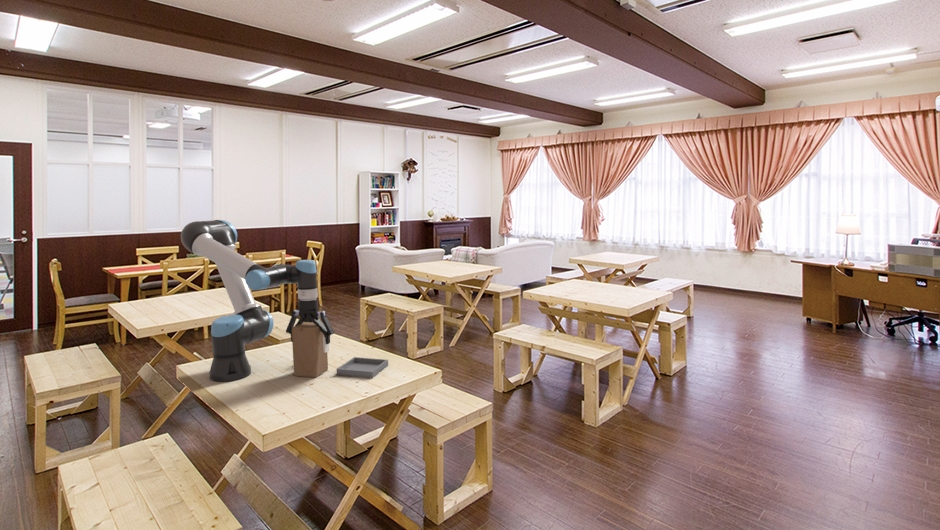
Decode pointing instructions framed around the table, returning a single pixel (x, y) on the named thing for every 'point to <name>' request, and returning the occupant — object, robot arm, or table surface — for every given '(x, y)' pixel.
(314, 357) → the wooden block
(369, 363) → the tray
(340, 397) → the table surface
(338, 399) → the table surface
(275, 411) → the table surface
